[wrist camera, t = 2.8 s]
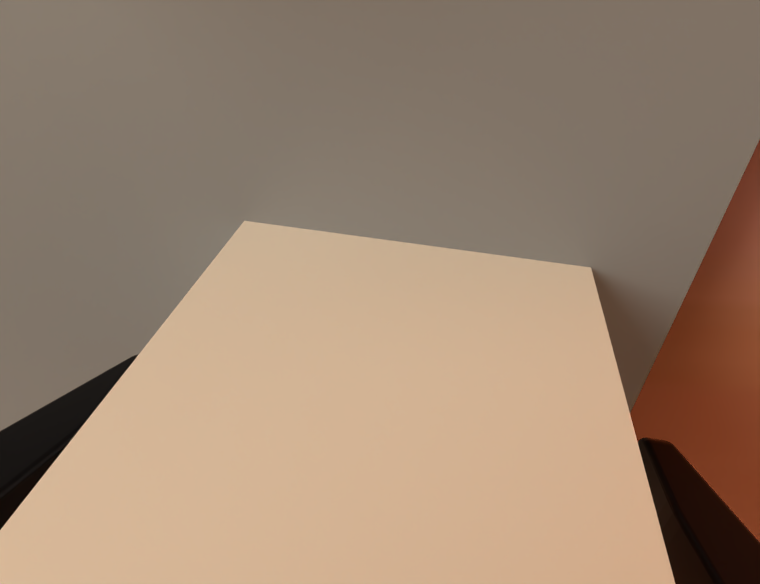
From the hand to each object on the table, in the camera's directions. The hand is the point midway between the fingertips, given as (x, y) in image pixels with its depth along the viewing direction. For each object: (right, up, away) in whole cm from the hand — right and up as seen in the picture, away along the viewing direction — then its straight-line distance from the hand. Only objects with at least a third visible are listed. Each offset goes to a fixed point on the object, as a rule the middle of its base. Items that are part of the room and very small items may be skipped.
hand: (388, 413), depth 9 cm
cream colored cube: (0, +1, +1) cm, 1 cm away
